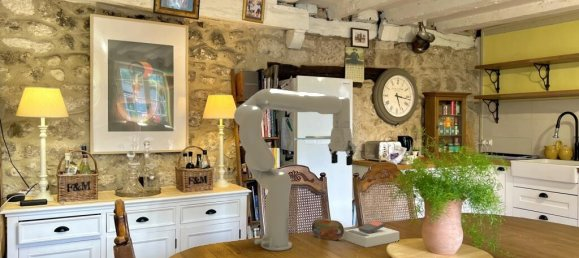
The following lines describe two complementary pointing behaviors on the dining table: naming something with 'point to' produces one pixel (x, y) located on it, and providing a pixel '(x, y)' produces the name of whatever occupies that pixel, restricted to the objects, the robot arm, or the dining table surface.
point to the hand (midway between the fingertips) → (341, 164)
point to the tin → (327, 229)
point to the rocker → (371, 227)
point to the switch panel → (371, 237)
